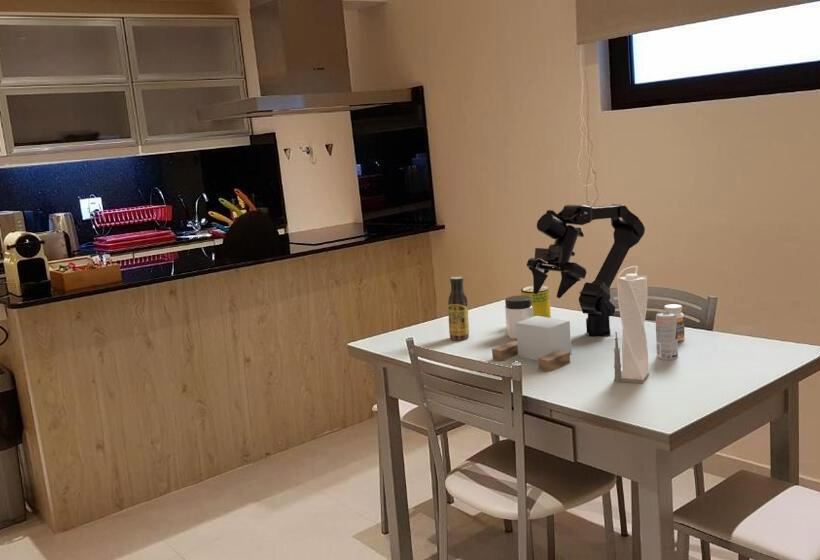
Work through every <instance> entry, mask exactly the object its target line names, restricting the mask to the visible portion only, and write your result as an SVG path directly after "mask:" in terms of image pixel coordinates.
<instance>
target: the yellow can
mask: <svg viewBox="0 0 820 560" xmlns="http://www.w3.org/2000/svg"><path fill="white" fill-rule="evenodd" d="M520 293H521V294H520V295H524V296H530V297H531V300H532V307H533V317H534V316H542V317H548V318H552V317H551V316H552V315H551V301H550V299H551V298H550V287H549V286H546V285H542V287H541V288H540V290H539V292H538V293H537V294H534V293H533V285H529V286H525V287H522V288H521V289H520Z"/></svg>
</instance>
